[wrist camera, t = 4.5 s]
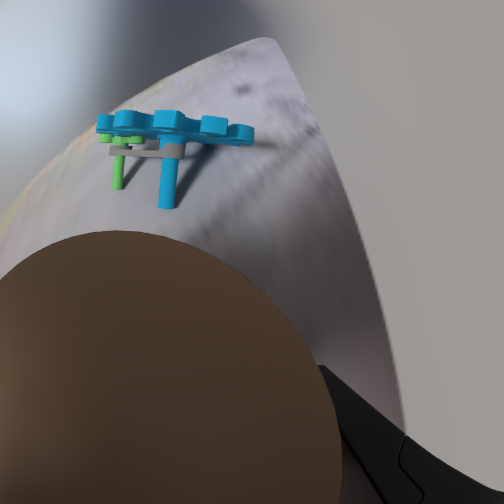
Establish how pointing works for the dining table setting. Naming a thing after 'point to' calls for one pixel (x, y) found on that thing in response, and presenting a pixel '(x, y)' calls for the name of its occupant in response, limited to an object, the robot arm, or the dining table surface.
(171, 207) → the gear
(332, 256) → the dining table surface
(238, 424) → the peg
